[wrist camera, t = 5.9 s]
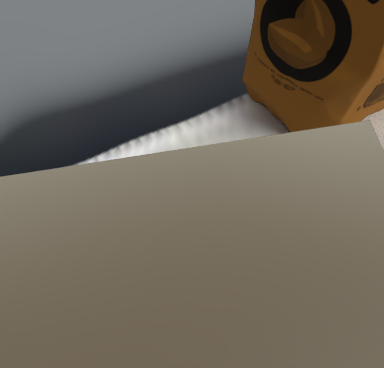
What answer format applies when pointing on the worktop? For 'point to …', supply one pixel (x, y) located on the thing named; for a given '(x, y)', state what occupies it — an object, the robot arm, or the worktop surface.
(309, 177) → the post
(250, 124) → the worktop surface
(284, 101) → the coffee package
